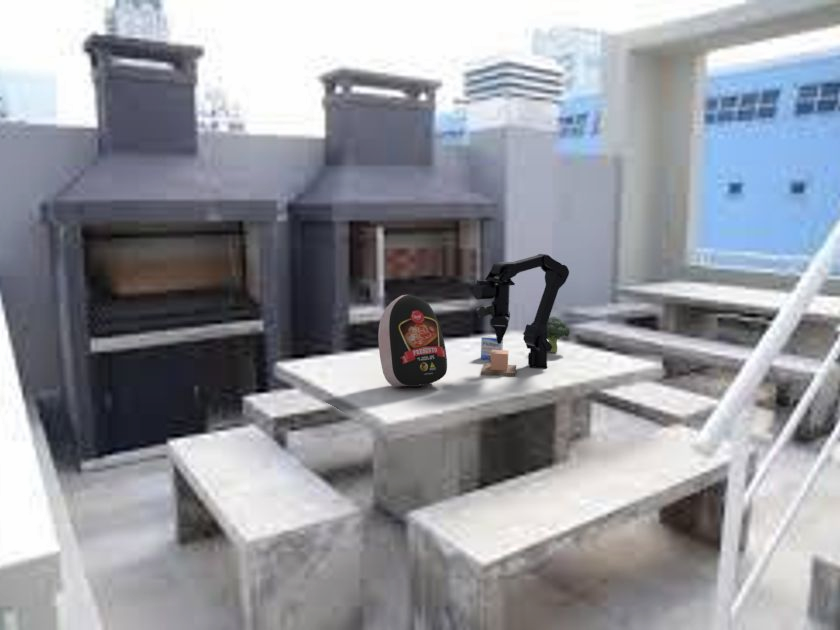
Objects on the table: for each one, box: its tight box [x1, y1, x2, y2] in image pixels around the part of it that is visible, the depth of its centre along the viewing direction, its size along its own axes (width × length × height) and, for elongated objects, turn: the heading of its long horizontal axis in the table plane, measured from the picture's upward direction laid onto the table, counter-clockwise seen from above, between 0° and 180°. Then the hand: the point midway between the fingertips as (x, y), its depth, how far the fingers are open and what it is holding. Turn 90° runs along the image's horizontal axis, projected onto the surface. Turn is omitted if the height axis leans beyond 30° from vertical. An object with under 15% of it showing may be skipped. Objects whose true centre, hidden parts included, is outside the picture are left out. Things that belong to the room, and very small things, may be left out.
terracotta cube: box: [490, 350, 509, 371], centre depth 248 cm, size 6×6×6 cm
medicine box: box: [480, 335, 504, 361], centre depth 268 cm, size 8×4×9 cm, turn 73°
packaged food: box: [377, 294, 448, 387], centre depth 227 cm, size 22×20×30 cm
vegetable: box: [547, 316, 571, 353], centre depth 279 cm, size 12×13×15 cm
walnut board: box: [481, 363, 517, 377], centre depth 248 cm, size 12×12×1 cm
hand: (499, 340), depth 246 cm, fingers open, 9 cm apart
